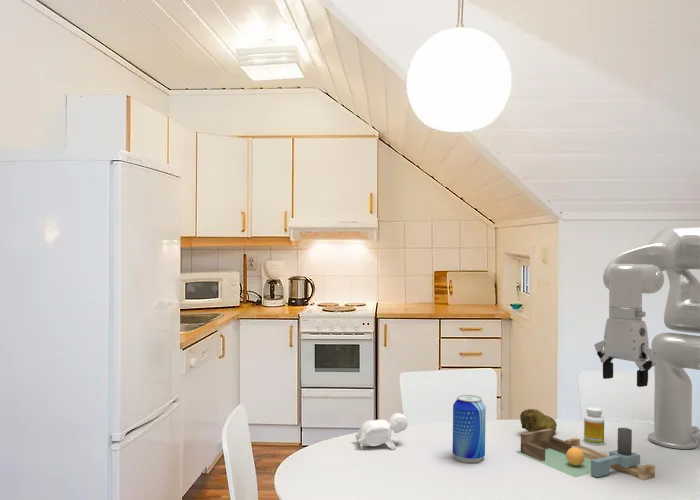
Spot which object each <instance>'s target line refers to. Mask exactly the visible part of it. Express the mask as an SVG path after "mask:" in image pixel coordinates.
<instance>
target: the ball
mask: <svg viewBox="0 0 700 500" xmlns="http://www.w3.org/2000/svg"><path fill="white" fill-rule="evenodd" d="M566 458H567V461H568V462H569V463H570V464H571V465H574V466H579V465H581V464H582V463H583V462H584V458H585V457H584V454H583V452H582V451H581V450H580V449H578V448H570V449H569V450H568V451H567V453H566Z"/></svg>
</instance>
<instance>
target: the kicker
mask: <svg viewBox="0 0 700 500" xmlns="http://www.w3.org/2000/svg"><path fill="white" fill-rule="evenodd" d="M632 443H633V430H632V429H631V428H628V427H617V449H615V450H612V451H608V453H609V454H608V455H609V456H608V457H602V458H598V459H593V460H591V473H590V476H593V477H594V478H600V477H604V476H607V475H608V476H609V475H610V469H609V468H610V467H609V466H610V465H614V464H618V465H620V466H623V467H626V468H628V467H632V466H640V465H641V455H640V454H638V453H636V452H632V449H633V447H632V446H633V444H632Z"/></svg>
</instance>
